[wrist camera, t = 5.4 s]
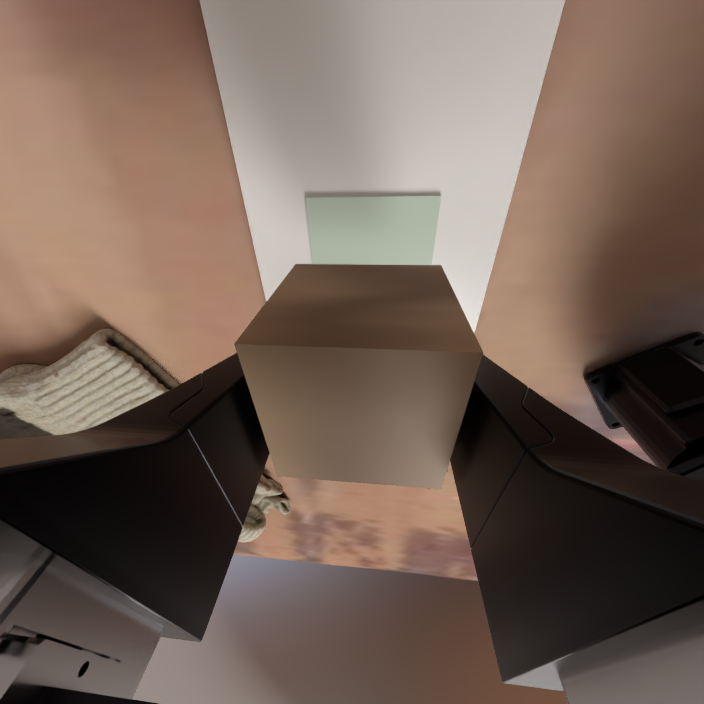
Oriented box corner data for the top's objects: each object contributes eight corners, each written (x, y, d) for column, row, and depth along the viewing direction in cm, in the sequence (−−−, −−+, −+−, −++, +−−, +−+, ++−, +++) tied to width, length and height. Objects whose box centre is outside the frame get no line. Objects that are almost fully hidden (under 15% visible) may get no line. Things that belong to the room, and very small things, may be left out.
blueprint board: (447, 408, 23) (451, 422, 22) (294, 401, 24) (289, 413, 23) (591, -155, 9) (623, -201, 7) (190, -109, 10) (164, -143, 9)
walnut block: (441, 265, 8) (483, 352, 5) (422, 377, 11) (441, 489, 8) (295, 264, 9) (233, 343, 5) (311, 373, 12) (277, 476, 8)
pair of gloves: (-46, 389, 29) (-120, 431, 24) (126, 314, 21) (62, 356, 17) (167, 523, 44) (144, 563, 40) (309, 506, 37) (299, 553, 33)
